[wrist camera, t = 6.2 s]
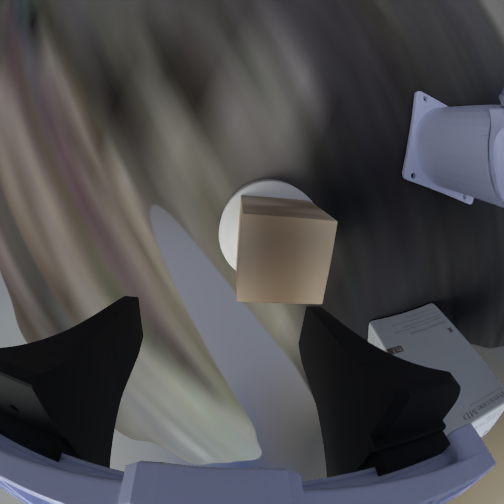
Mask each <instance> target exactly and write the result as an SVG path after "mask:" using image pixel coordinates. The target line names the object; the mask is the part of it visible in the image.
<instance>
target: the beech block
mask: <svg viewBox="0 0 504 504" xmlns="http://www.w3.org/2000/svg"><path fill="white" fill-rule="evenodd" d="M337 223H338V221H336V220H335V219H334V218H332V217H331V216H330V215H328V214H327V213H326V212H324V211H323V210H322V209H320V208H319V207H318V206H316V205H315V204H313V203H312V202H311V201H308V200H298V199H287V198H275V197H263V196H249V195H241V200H240V213H239V227H238V241H237V256H236V287H237V301H238V302H259V303H290V304H322V302H323V297H324V292H325V288H326V283H327V278H328V273H329V268H330V263H331V257H332V252H333V246H334V241H335V235H336V229H337Z"/></svg>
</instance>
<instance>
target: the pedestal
mask: <svg viewBox="0 0 504 504" xmlns="http://www.w3.org/2000/svg"><path fill="white" fill-rule="evenodd" d="M241 195H249V196H263V197H275V198H287V199H298V200H308V201H311V199H310V198H309V197H308V196H307V195H305V194H304V193H303V192H302V191H300V190H299V189H297V188H296V187H294V186H292V185H291V184H289V183H287V182H284V181H281V180H277V179H259V180H255V181H252V182H249V183H247V184H245V185H243V186H242V187H240V188H239V189H238V190H237V191H235V192H234V193H233V194H232V196H231V197H230V198H229V200H228V201H227V203H226V205H225V207H224V209H223V212H222V217H221V221H220V226H219V242H220V247H221V250H222V252H223V254H224V256H225V258H226V260H227V261H228V263H229V264H230V265H231V266H232V267H233V268H234V269H235V270H236V256H237V241H238V227H239V213H240V200H241ZM311 202H312V201H311ZM312 203H313V202H312ZM313 204H314V203H313Z"/></svg>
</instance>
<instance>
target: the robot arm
mask: <svg viewBox="0 0 504 504" xmlns="http://www.w3.org/2000/svg"><path fill="white" fill-rule="evenodd" d="M423 97H424V98H425V101H424V99H423ZM499 100H500V103H501V105H470V106H455V107H448V106H447V105H445V104H443V103H441V102H440V101H438V100H436V99H434V98H432V97H431V96H429V95H427V94H425V93H423V92H421V91H417V92H415V94H414V103H413V111H412V118H411V125H410V132H409V138H408V144H407V149H406V155H405V160H404V165H403V170H402V176H403V178H404V179H406V180H408V181H411V182H414V183H417V184H420V185H422V186H425V187H428V188H430V189H433V190H435V191H438V192H441V193H443V194H446V195H448V196H450V197H453V198H455V199H458V200H460V201H462V202H465V203H467V204H472V202H473V199H474V198H477V199H480V200H483V201H486V202H489V203H491V204H494V205H497V206H500V207H502V208H504V88H503V90H502V94H500V95H499ZM412 173H413V178H411V174H412ZM463 195H464V197H463ZM142 339H143V331H142V324H141V316H140V308H139V300H138V297H130V296H125V297H123V298H121V299H119V300H117V301H116V302H114V303H113V304H111V305H110V306H108V307H106V308H105V309H103V310H102V311H100V312H99V313H97V314H95V315H94V316H92V317H90V318H89V319H87V320H85V321H83V322H82V323H80V324H78V325H76V326H74V327H72V328H70V329H68V330H66V331H64V332H62V333H59V334H57V335H54V336H51V337H48V338H45V339H43V340H40V341H36V342H32V343H29V344H24V345H19V346H14V347H7V348H0V488H2V489H3V490H4V491H6V492H8V493H9V494H11V495H12V496H14V497H15V498H17V499H19V500H20V501H22V502H24V503H25V504H445V503H446V502H448V501H450V500H452V499H454V498H455V497H457V496H459V495H460V494H461V493H463V492H464V491H465V490H467V489H468V488H469V487H470V486H472V485H473V484H474V483H476V482H477V481H478V480H479V479H480V478H481V477H483V476H484V475H485V474H486V473H487V472H488V471H490V470H491V469H492V468H493V467H494V466H495V465H496V462H495V460H494V458H493V457H492V455H491V453H490V452H489V450H488V449H487V447H486V446H485V444H484V442H483V441H482V439H481V438H480V436H479V434H478V433H477V431H476V430H475V428H474V427H473V425H472V424H471V423H469V424H467V425H464V426H462V427H460V428H458V429H456V430H454V431H452V432H450V433H449V434H448V435H447V436H446V435H445V433H444V432H443V430H444V429H445V428H446V424H445V423H444V421H443V419H444V418H445V417H446V415H447V414H448V413H449V411H450V410H451V408H452V407H453V406H454V404H455V403H456V401H457V399H458V397H459V394H460V391H461V386H460V385H459V384H458V382H457V381H456V379H455V378H454V377H453V375H452V374H451V373H450V372H448V371H443V370H438V369H433V368H428V367H425V366H421V365H418V364H415V363H412V362H409V361H406V360H404V359H401V358H399V357H397V356H394V355H392V354H390V353H388V352H386V351H384V350H382V349H380V348H378V347H376V346H374V345H373V344H371V343H369V342H368V341H366V340H365V339H363V338H362V337H360V336H359V335H357V334H356V333H354V332H353V331H352V330H350V329H349V328H347V327H346V326H345V325H344V324H342V323H341V322H340V321H338V320H337V319H336V318H335V317H333V316H332V315H331V314H329V313H328V312H327V311H326V310H324V309H323V308H321V307H307V306H306V311H305V316H304V321H303V326H302V331H301V335H300V340H299V349H300V355H301V360H302V364H303V367H304V370H305V373H306V376H307V379H308V382H309V385H310V388H311V391H312V394H313V397H314V400H315V403H316V407H317V410H318V415H319V420H320V426H321V431H322V437H323V443H324V451H325V459H326V470H327V478H322V479H314V480H307V481H301V477H300V475H299V474H297V473H294V472H291V471H289V470H286V469H277V468H214V467H213V468H212V467H198V466H186V465H177V464H170V463H163V462H148V461H140V462H136V463H133V464H130V465H127V466H126V467H125V472H123V471H119V470H115V469H111V468H110V456H111V448H112V440H113V433H114V428H115V423H116V418H117V413H118V409H119V405H120V401H121V397H122V394H123V391H124V389H125V386H126V384H127V381H128V379H129V376H130V374H131V372H132V369H133V367H134V364H135V362H136V359H137V357H138V354H139V351H140V347H141V343H142Z"/></svg>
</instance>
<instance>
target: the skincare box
mask: <svg viewBox="0 0 504 504" xmlns="http://www.w3.org/2000/svg"><path fill="white" fill-rule="evenodd" d="M368 342H369V343H371V344H373V345H374V346H376V347H378V348H380V349H382V350H384V351H386V352H388V353H390V354H392V355H394V356H397V357H399V358H401V359H404V360H406V361H409V362H412V363H415V364H418V365H421V366H425V367H428V368H433V369H438V370H443V371H448V372H450V373H451V374H452V375H453V377H454V378H455V379H456V381H457V382H458V384H459V385H460V386H461V391H460V394H459V397H458V399H457V401H456V403H455V404H454V406H453V407H452V408H451V410H450V411H449V413H448V414H447V415H446V417H445V418H444V419H443V421H444V423H445V424H446V428H445V429H444V430H443V432H444V433H445V435H446V436H447V435H448V434H449V433H450V432H452V431H454V430H456V429H458V428H460V427H462V426H464V425H467V424H469V423H471V424H472V425H473V427H474V428H475V430H476V431H477V433H478V434H479V436H480V438H481V437H482V436H484V435H485V434H486V433H487V432H488V431H489V430H490V429H491V427H492V426H493V425H494V424H495V422H496V421H497V419H498V418H499V417H500V415H501V414H502V412H503V411H504V387H503V385H502V384H501V383H500V381H499V380H498V379H497V377H496V376H495V375H494V373H493V372H492V371H491V370H490V368H489V367H488V366H487V364H486V363H485V362H484V361H483V359H482V358H481V357H480V355H479V354H478V353H477V352H476V351H475V350H474V348H473V347H472V346H471V345H470V343H469V342H468V341H467V340H466V339H465V337H464V336H463V335H462V334H461V333H460V332H459V331H458V330H457V328H456V327H455V326H454V325H453V324H452V323H451V322H450V320H449V319H448V318H447V317H446V316H445V315H444V314H443V313H442V312H441V311H440V310H439V309H438V308H437V306H436V305H434V304H432V303H430V304H427V305H425V306H423V307H420V308H417V309H414V310H411V311H408V312H405V313H402V314H399V315H395V316H391V317H387V318H383V319H378V320H373V321H371V322H370V323H369V331H368Z"/></svg>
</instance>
